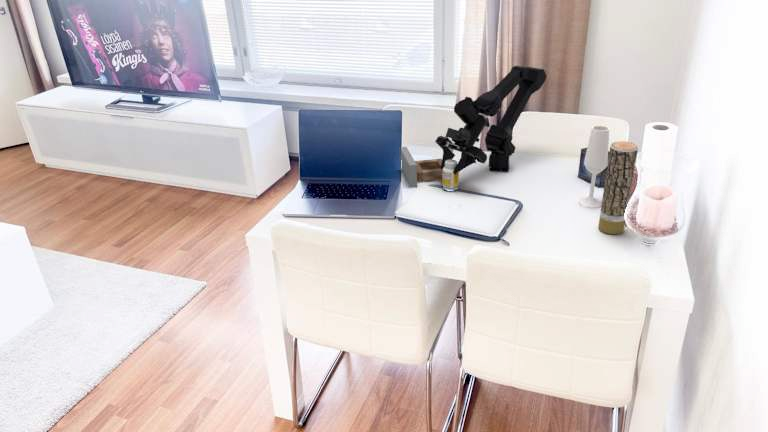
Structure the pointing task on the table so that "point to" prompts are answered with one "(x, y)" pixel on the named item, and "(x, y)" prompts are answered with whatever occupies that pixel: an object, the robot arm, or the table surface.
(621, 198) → the bark print cylinder
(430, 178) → the walnut socket block
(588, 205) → the champagne flute
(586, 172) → the small box
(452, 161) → the supplement bottle
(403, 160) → the grey backstop board
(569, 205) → the table surface
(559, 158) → the table surface
